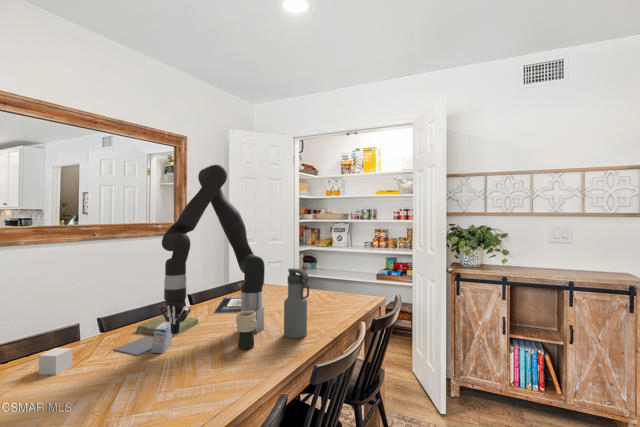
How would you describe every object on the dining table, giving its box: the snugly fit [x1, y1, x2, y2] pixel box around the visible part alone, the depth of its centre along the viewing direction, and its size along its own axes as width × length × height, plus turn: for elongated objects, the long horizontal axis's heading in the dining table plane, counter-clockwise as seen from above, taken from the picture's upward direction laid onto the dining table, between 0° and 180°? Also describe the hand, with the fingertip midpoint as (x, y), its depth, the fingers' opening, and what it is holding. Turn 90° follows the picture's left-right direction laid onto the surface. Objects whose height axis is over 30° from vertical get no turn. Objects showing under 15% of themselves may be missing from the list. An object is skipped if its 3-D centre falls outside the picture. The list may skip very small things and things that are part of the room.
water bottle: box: [283, 267, 310, 340], centre depth 140 cm, size 10×10×28 cm
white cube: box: [38, 347, 73, 376], centre depth 107 cm, size 6×6×6 cm
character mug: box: [235, 311, 257, 349], centre depth 126 cm, size 11×7×13 cm, turn 56°
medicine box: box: [150, 322, 173, 354], centre depth 123 cm, size 8×4×9 cm, turn 5°
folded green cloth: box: [135, 315, 199, 338], centre depth 147 cm, size 19×20×4 cm
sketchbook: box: [213, 296, 241, 314], centre depth 186 cm, size 22×30×2 cm
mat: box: [113, 335, 153, 357], centre depth 127 cm, size 13×15×1 cm
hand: (174, 333), depth 121 cm, fingers closed
